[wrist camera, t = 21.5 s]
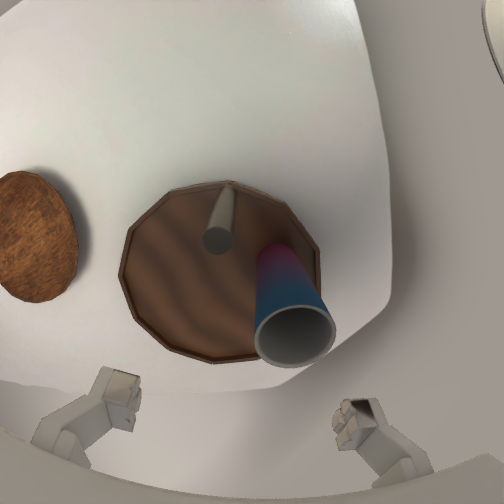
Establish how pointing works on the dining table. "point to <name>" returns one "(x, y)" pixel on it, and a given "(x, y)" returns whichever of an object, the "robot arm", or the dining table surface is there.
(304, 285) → the cup
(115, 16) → the dining table surface
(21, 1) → the dining table surface
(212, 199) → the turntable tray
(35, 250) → the bowl
